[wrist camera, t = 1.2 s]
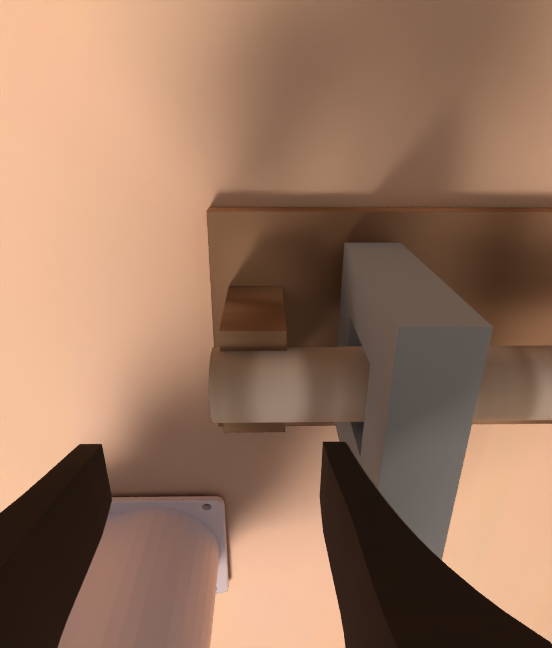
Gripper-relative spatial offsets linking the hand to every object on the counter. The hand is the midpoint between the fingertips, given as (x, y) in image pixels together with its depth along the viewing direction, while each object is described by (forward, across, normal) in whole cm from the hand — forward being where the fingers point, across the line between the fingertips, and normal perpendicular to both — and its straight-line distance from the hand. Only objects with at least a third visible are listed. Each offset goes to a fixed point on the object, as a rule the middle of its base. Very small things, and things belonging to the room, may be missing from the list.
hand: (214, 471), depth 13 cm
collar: (+9, -6, 0) cm, 11 cm away
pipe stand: (+10, -11, 0) cm, 15 cm away
